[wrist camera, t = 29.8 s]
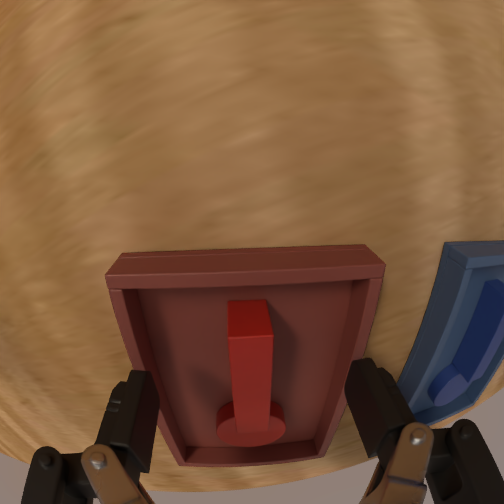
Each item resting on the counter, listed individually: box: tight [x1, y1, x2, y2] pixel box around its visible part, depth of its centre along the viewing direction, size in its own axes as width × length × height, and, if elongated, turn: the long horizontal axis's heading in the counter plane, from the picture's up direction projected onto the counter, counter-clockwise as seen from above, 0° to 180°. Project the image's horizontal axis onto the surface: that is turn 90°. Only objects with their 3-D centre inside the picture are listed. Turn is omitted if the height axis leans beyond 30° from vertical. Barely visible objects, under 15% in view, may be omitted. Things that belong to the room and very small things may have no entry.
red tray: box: [105, 245, 386, 467], centre depth 13 cm, size 15×10×2 cm
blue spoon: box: [428, 279, 504, 406], centre depth 14 cm, size 10×4×2 cm, turn 1°
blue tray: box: [396, 241, 504, 426], centre depth 14 cm, size 15×10×2 cm
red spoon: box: [216, 299, 286, 447], centre depth 13 cm, size 10×4×2 cm, turn 1°
